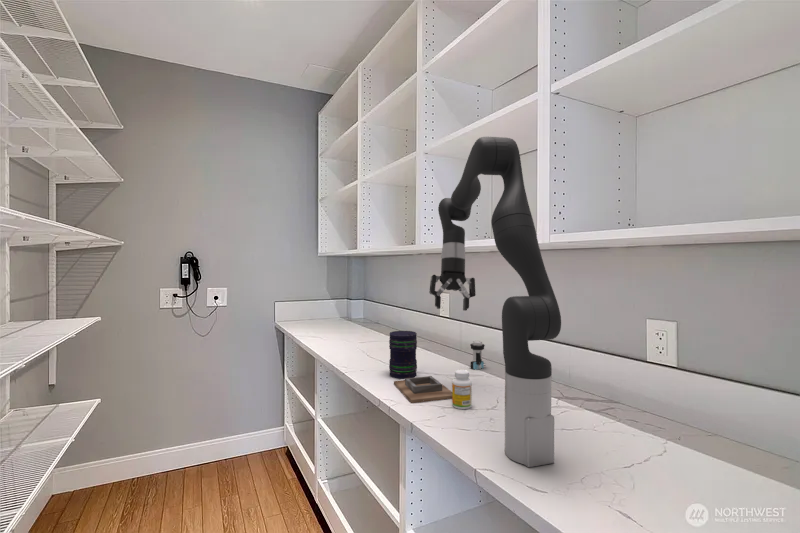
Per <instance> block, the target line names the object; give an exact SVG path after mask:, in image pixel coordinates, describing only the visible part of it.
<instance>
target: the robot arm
mask: <svg viewBox="0 0 800 533" xmlns="http://www.w3.org/2000/svg"><path fill="white" fill-rule="evenodd" d="M466 160H467V161H466V162H465V166H464V168H463V169H464V170H463V173H462V175H461V177H460V180H459V182H458V184H457V186H456V187H455V188H454V190H453V191H452V193H451V197H445V198H442V199H441V200H440V202H439V203H438V209H437V210H438V216H439V219H440V223H441V227H442V228H441V229H442V248H441V254H440V255H441V256H440V258H441V260H440V261H441V263H440V264H441V266H440V275H436V274H432V275H431V276H430V281H429V282H430V283H429V292H428V293H429V294H430V295H433V296H434V307H435V308H436V309H437V310H439V309H441V308H442V307H441V303H442V297H441V295H442V294H443V292H444V291H445V290H446V291H455V292H457V291H458V292H459V293H460V294H461V295H462V296H463V297H462V298H463V299H462V301H463V303H462V311H468V310H469V308H470V298H473V297H475V296H476V295H477V294H476V279H475V278H474V277H469V278H468V277H466V245H465V244H466V231H465V228H463V226H460V225H457V224H455V223H454V222H453V221H456V222H457V221H458V222H464V221H467V220H469V218H470V216H471V212H472V206H473V204H475V202H476V201H477V199H478V198H479V196H480V194H481V191H482V185H481V182H480V179H479V177H478V176H479V175H485V176H500V177H501V178H502V180H503V182H502V183H503V191H502V195H501V196H500V198H499V200H498V202H497V204H496V206H495V208H494V210H493V212H492V215H491V216H492V217H491V220H490V222H491V229H492V233H493V238H494V243H495V247H496V249H497V250H498V252H499V253H500V255H501V256H502V257H503V258H504V260H505V261H506V262H507V263H508V264H509V265H510V266H511V268H513V269H514V270H515V272H516V273H517V274H518V275H519V277H520V278H521V280H522V282H523V284H524V285H525V288H526V290H527V291H526V292H527V294H528V295H519V296H517V295H516V296H510V297H508V298H507V299H506V300H504V303H503V306H502V309H501V328H502V329H501V330H502V354H503V360H504V454H505V455H506V457H507V458H508V459H510V460H512V461H513V462H515V463H518V464H522V465H524V466H526V467H527V468H532V467H537V466H544V465H548V464H549V465H550V464H554V463H555V416H554V415H553V414H552V381H553V380H552V373H553V369H552V362H551V361H550V359H548V358H546V357H543V356H541V355H538V354H535V353H532V352H531V351H530V348H529V341H548V340H549V341H550V340H554V339H556V338H557V337H558V336H559V335H560V332H561V329H562V316H561V315H562V314H561V311H560V308H559V302H558V300H557V298H556V297H557V296H556V294H555V292H554V289H553V287H552V284H551V280H550V278H549V276H548V273H547V270H546V266H545V264H544V260H543V256H542V252H541V249H540V245H539V241H538V234H537V231H536V227H535V222H534V219H533V215H532V212H531V209H530V204H529V201H528V200H529V199H528V197H527V191H526V188H525V187H526V186H525V181H524V174H523V168H522V161H521V154H520V149H519V147H518V144H517V142H516V141H515V139H513V138H510V137H503V136H501V137H500V136H481V137H479V138H477V139H476V140H475V142H474V144H473V145H472V147H471V149H470V152H469V154H468V157H467V159H466ZM438 282H440V283H441V286H440V287H439V288H438V289H437V291H436V283H438ZM465 284H467V285H468V289H469V290H467V288H466V287H465Z"/></svg>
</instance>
